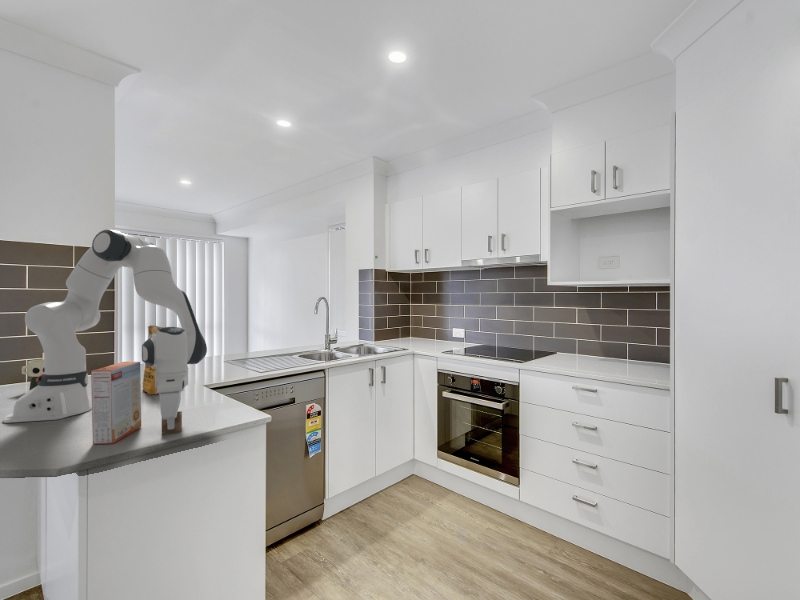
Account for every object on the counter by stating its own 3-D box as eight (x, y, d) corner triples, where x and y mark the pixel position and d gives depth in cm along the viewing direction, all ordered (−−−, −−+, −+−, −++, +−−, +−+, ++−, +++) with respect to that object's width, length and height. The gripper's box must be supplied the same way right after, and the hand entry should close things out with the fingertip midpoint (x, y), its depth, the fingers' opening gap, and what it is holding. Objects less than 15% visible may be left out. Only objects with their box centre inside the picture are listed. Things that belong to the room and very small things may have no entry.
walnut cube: (161, 434, 116) (161, 417, 115) (163, 429, 120) (163, 413, 120) (180, 432, 118) (180, 415, 118) (181, 426, 122) (181, 411, 122)
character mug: (23, 394, 160) (23, 363, 159) (20, 392, 164) (19, 361, 164) (58, 389, 168) (57, 359, 168) (53, 387, 173) (53, 358, 172)
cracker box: (122, 427, 121) (121, 361, 121) (142, 427, 122) (142, 361, 121) (90, 445, 107) (89, 369, 107) (113, 444, 108) (112, 369, 107)
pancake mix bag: (156, 386, 176) (156, 324, 175) (169, 393, 163) (169, 327, 162) (139, 388, 171) (138, 325, 171) (151, 396, 158) (151, 328, 157)
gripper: (163, 375, 127) (163, 417, 127) (156, 388, 108) (156, 437, 108) (185, 373, 129) (185, 414, 130) (181, 386, 111) (181, 434, 111)
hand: (172, 425), depth 119 cm, fingers closed on walnut cube, 5 cm apart
